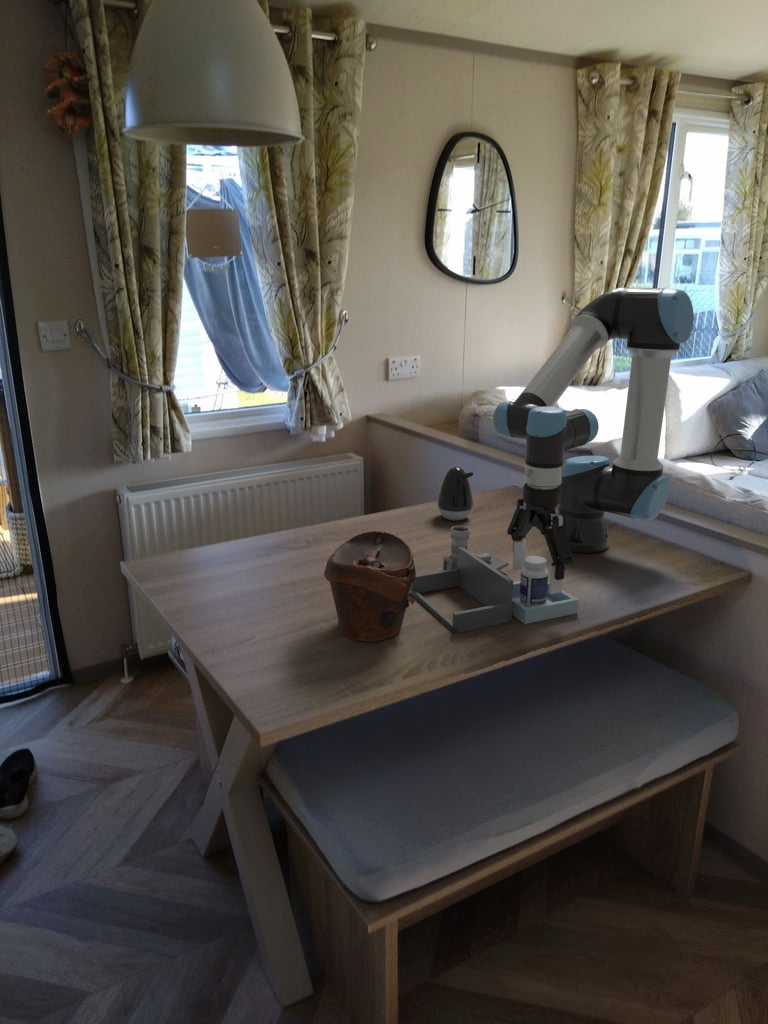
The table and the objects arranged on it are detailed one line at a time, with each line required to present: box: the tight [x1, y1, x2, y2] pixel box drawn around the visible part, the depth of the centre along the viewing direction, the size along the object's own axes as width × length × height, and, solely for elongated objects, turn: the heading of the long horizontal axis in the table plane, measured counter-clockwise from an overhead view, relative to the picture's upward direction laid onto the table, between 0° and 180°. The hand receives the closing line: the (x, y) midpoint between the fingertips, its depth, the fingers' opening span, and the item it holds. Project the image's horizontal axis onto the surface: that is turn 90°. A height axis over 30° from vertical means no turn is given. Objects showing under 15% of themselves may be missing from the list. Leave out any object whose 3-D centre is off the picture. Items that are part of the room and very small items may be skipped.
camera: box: [442, 525, 510, 572], centre depth 176 cm, size 9×12×15 cm
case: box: [323, 530, 417, 643], centre depth 147 cm, size 18×20×18 cm
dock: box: [409, 547, 515, 634], centre depth 158 cm, size 21×13×9 cm, turn 23°
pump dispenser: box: [436, 466, 474, 522], centre depth 214 cm, size 10×10×15 cm
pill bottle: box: [519, 555, 549, 607], centre depth 159 cm, size 6×6×10 cm
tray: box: [511, 580, 579, 625], centre depth 160 cm, size 13×13×3 cm
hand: (536, 580), depth 159 cm, fingers open, 13 cm apart
